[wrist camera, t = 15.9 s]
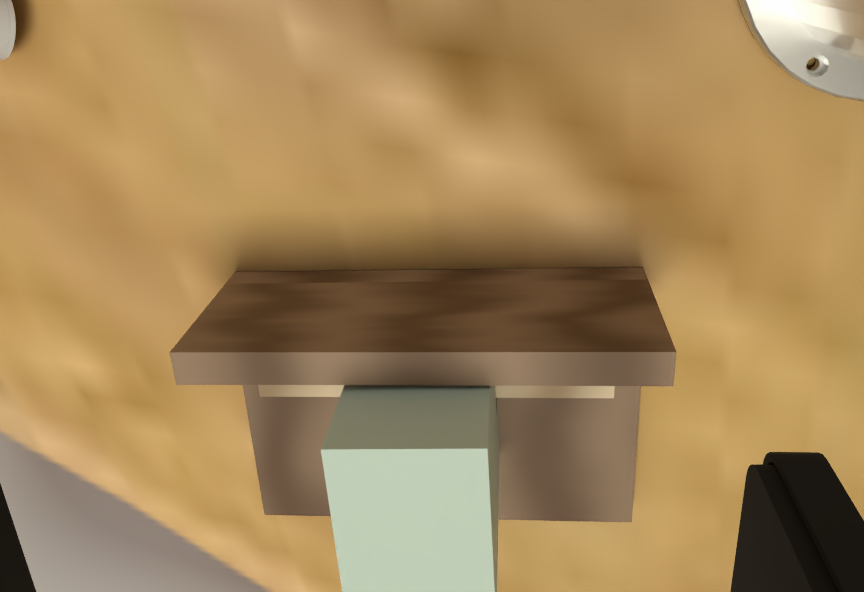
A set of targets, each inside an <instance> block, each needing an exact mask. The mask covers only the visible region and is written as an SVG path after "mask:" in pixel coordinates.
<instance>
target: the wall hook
mask: <svg viewBox="0 0 864 592" xmlns="http://www.w3.org/2000/svg"><path fill="white" fill-rule="evenodd" d="M15 35H16V20H15V12H14V8H13V4H12V1H11V0H0V59H1V60H4V59H6V58H8V57H9V55H10V54H11V52H12V49H13V47H14V42H15Z"/></svg>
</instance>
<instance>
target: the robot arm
mask: <svg viewBox="0 0 864 592" xmlns="http://www.w3.org/2000/svg"><path fill="white" fill-rule="evenodd" d="M739 3H740V7H741V11H742V14H743V16H744V18H745V20H746V22H747V24H748V26H749V29H750V31H751V33H752V35H753V37H754V39H755V40H756V41H757V42H758V44H759V45H760V46H761V48H762V49H763V50H764V51H765V53H766V54H767V55H768V57H769V58H770V59H771V60H772V61H773V62H774V63H776V64H777V65H778V66H779V67H781V68H782V69H783V70H784V71H785V72H787V73H788V74H789V75H790V76H791V77H793V78H795V79H797V80H798V81H800V82H802V83H804V84H806V85H808V86H809V87H812V88H814V89H817V90H820V91H822V92H825V93H828V94H830V95H833V96H835V97H840V98H846V99H853V100H859V101H864V0H739ZM813 57H814V58H815V59H816V64H815V66H814V67H813V68H811V69H807V68H806V65H807V63H808V61H809V60H810V59H811V58H813ZM0 592H36V590H35V587H34V584H33V581H32V578H31V575H30V572H29V569H28V566H27V563H26V560H25V557H24V554H23V551H22V548H21V545H20V542H19V539H18V536H17V532H16V530H15V526H14V524H13V520H12V518H11V514H10V511H9V509H8V505H7V502H6V499H5V496H4V493H3V490H2V487H1V484H0ZM731 592H864V521H863V519H862V517H861V516H860V514H859V512H858V511H857V509H856V507H855V506H854V504H853V502H852V501H851V499H850V497H849V496H848V494H847V492H846V491H845V489H844V487H843V486H842V484H841V482H840V481H839V479H838V477H837V476H836V474H835V472H834V471H833V469H832V467H831V466H830V464H829V462H828V461H827V459H826V458H825V457H824V455H823V454H820V453H805V452H769V453H768V454H766V456H765V458H764V461H763V465H750V466H749V468H748V471H747V475H746V482H745V490H744V497H743V504H742V512H741V519H740V526H739V534H738V541H737V549H736V556H735V563H734V571H733V578H732V585H731Z"/></svg>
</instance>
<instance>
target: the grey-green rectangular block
mask: <svg viewBox="0 0 864 592" xmlns="http://www.w3.org/2000/svg"><path fill="white" fill-rule="evenodd" d="M321 455H322V461H323V468H324V475H325V481H326V488H327V494H328V501H329V507H330V514H331V521H332V527H333V534H334V540H335V547H336V553H337V560H338V566H339V573H340V580H341V586H342V592H497V555H498V510H499V465H500V447H499V424H498V400H497V398H496V392H495V386H456V385H344V388H343V390H342V393H341V396H340V399H339V401H338V404H337V407H336V409H335V412H334V415H333V418H332V420H331V423H330V426H329V428H328V431H327V434H326V437H325V439H324V442H323V445H322V447H321Z"/></svg>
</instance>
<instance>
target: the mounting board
mask: <svg viewBox="0 0 864 592" xmlns="http://www.w3.org/2000/svg"><path fill="white" fill-rule="evenodd" d="M170 357H171V362H172V366H173V371H174V376H175V381H176V385H243V389H244V395H245V401H246V407H247V413H248V419H249V425H250V431H251V437H252V442H253V448H254V454H255V460H256V466H257V472H258V478H259V484H260V490H261V496H262V502H263V508H264V513H265V515H303V516H331V514H330V507H329V501H328V494H327V488H326V481H325V475H324V468H323V461H322V455H321V447H322V445H323V442H324V439H325V437H326V434H327V431H328V428H329V426H330V423H331V420H332V418H333V415H334V412H335V409H336V407H337V404H338V401H339V399H340V396H341V393H342V390H343V388H344V385H456V386H495V392H496V398H497V400H498V424H499V447H500V465H499V510H498V519H499V520H548V521H597V522H632V509H633V494H634V479H635V464H636V449H637V434H638V419H639V404H640V388H641V386H673V385H674V373H675V361H676V350H675V347H674V345H673V342H672V340H671V337H670V335H669V332H668V330H667V327H666V325H665V322H664V320H663V317H662V314H661V312H660V309H659V307H658V304H657V302H656V299H655V297H654V294H653V292H652V289H651V287H650V284H649V282H648V279H647V276H646V274H645V271H644V269H643V267H609V268H523V269H437V270H350V271H264V272H235V273H234V274H233V275H232V277H231V278H230V279H229V280H228V281H227V283H226V284H225V285H224V286H223V288H222V289H221V290H220V291H219V293H218V294H217V295H216V296H215V297H214V299H213V300H212V301H211V302H210V304H209V305H208V306H207V307H206V308H205V310H204V311H203V312H202V313H201V315H200V316H199V317H198V318H197V320H196V321H195V322H194V323H193V324H192V326H191V327H190V328H189V329H188V331H187V332H186V333H185V334H184V335H183V337H182V338H181V339H180V340H179V342H178V343H177V344H176V345H175V347H174V348H173V349H172V350H171V351H170Z"/></svg>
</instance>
